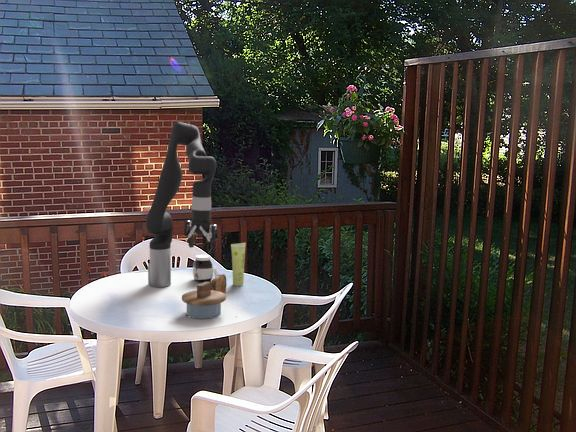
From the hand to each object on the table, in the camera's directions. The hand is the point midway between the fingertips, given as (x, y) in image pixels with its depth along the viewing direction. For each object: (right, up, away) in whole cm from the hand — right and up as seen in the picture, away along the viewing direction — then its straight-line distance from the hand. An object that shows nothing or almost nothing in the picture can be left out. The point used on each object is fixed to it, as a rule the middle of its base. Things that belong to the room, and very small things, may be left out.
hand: (200, 248), depth 229 cm
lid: (+1, -19, -1) cm, 19 cm away
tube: (+11, -19, +41) cm, 46 cm away
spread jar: (-4, -18, +47) cm, 50 cm away
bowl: (+1, -25, 0) cm, 25 cm away
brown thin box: (+4, -22, +24) cm, 33 cm away
